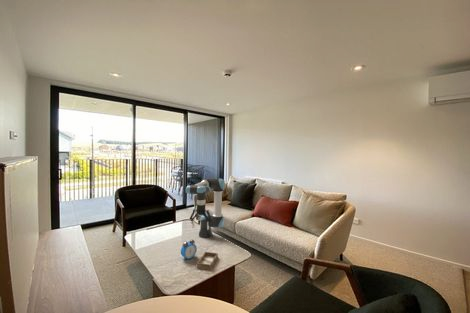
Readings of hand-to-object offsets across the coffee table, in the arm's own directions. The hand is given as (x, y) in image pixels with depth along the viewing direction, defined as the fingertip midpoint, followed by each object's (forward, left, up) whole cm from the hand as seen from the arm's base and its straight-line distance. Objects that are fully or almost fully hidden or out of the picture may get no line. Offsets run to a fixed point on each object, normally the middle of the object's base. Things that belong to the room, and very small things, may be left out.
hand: (200, 228), depth 171 cm
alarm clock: (-1, -11, -28) cm, 30 cm away
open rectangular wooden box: (+2, +8, -28) cm, 29 cm away
